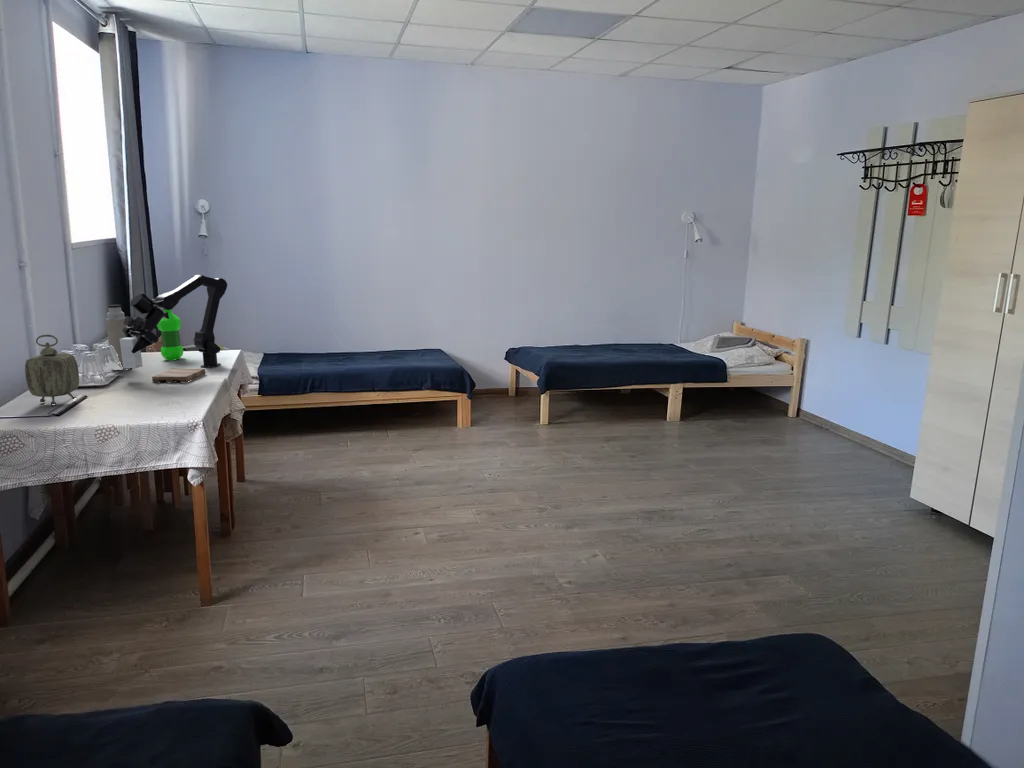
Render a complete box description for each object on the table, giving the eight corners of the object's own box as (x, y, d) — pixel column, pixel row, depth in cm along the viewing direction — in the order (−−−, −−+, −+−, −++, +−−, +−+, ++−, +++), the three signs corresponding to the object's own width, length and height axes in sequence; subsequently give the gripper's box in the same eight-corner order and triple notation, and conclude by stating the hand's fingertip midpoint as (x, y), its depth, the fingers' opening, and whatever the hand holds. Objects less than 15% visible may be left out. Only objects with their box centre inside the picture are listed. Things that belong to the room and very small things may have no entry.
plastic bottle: (157, 359, 344) (151, 305, 339) (180, 356, 351) (175, 303, 346) (164, 362, 337) (158, 307, 332) (188, 359, 344) (182, 305, 338)
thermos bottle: (113, 367, 326) (105, 304, 320) (134, 366, 329) (126, 303, 322) (110, 371, 319) (102, 306, 312) (131, 370, 321) (123, 305, 315)
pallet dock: (173, 374, 313) (172, 368, 312) (205, 374, 312) (204, 368, 311) (152, 382, 297) (152, 376, 297) (186, 383, 296) (185, 376, 296)
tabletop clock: (82, 400, 270) (73, 332, 264) (72, 406, 261) (62, 336, 256) (39, 402, 268) (28, 333, 262) (27, 408, 259) (16, 337, 253)
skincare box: (143, 366, 302) (139, 337, 299) (135, 368, 298) (131, 339, 295) (130, 366, 304) (126, 337, 301) (122, 368, 300) (118, 338, 297)
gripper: (123, 307, 304) (99, 337, 298) (147, 310, 293) (123, 342, 287) (145, 323, 312) (122, 353, 306) (168, 327, 301) (145, 358, 295)
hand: (127, 351), depth 298 cm, fingers closed on skincare box, 7 cm apart
